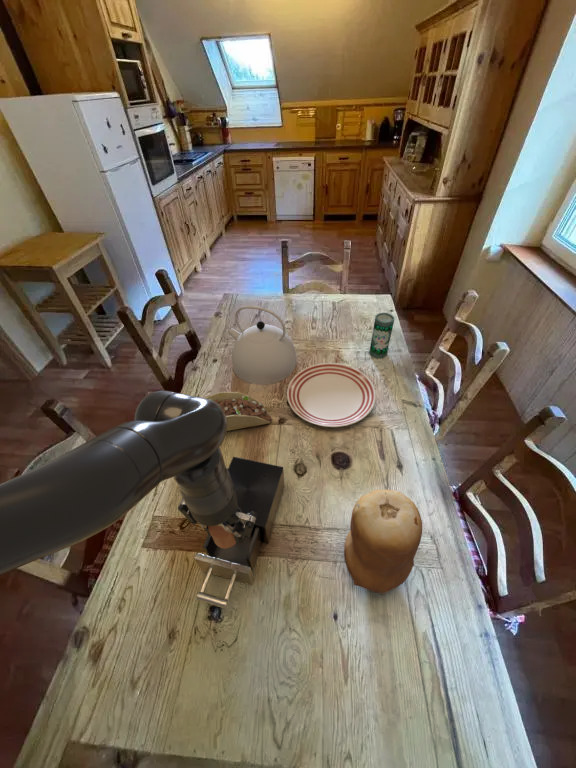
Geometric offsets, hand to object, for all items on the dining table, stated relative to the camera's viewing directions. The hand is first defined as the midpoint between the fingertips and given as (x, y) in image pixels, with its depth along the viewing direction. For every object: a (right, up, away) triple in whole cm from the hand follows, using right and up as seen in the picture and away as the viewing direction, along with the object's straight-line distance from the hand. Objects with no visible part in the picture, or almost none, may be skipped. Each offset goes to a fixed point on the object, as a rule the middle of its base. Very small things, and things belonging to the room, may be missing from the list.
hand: (226, 533), depth 64 cm
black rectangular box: (+3, -2, +19) cm, 19 cm away
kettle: (+2, +36, +58) cm, 68 cm away
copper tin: (0, 0, 0) cm, 0 cm away
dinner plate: (+25, +24, +44) cm, 56 cm away
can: (+44, +39, +59) cm, 84 cm away
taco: (-7, +15, +37) cm, 41 cm away
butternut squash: (+30, -11, +9) cm, 33 cm away
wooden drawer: (0, -10, +9) cm, 13 cm away
